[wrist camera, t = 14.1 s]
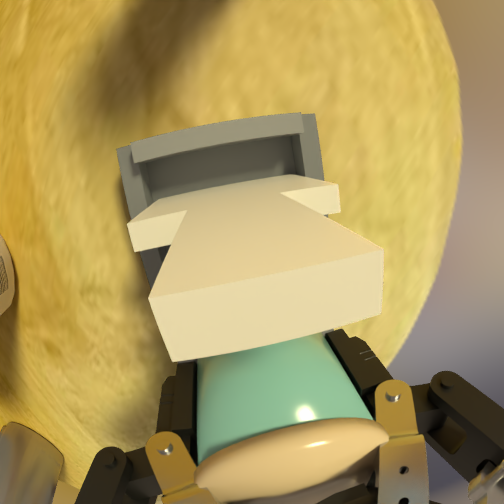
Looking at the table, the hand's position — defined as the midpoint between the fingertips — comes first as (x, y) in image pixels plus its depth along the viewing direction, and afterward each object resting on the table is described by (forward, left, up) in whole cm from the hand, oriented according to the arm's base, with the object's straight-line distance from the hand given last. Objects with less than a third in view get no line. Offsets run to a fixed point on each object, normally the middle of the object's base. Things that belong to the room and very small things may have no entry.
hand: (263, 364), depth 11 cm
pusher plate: (0, +6, -6) cm, 9 cm away
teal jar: (0, 0, -1) cm, 1 cm away
